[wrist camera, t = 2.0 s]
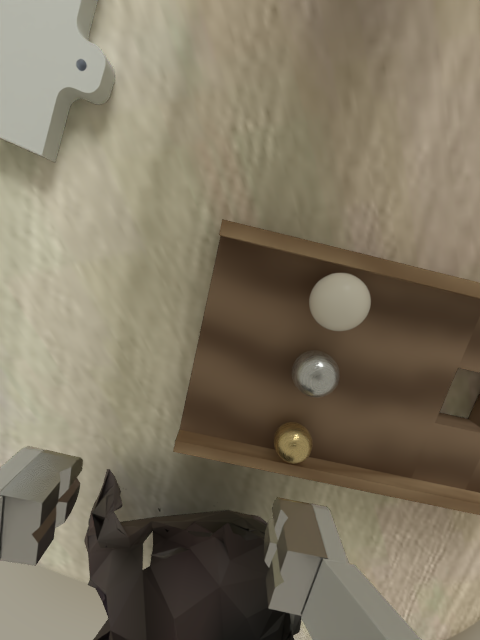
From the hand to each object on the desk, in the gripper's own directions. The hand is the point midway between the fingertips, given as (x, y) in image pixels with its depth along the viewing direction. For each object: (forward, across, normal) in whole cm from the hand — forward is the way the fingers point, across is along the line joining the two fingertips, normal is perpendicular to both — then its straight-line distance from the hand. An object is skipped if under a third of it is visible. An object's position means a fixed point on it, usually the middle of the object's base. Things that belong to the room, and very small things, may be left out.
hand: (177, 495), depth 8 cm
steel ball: (+13, -8, 0) cm, 15 cm away
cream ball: (+13, -8, -6) cm, 16 cm away
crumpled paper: (+17, -2, +18) cm, 26 cm away
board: (+17, -14, 0) cm, 22 cm away
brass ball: (+13, -8, +6) cm, 16 cm away
